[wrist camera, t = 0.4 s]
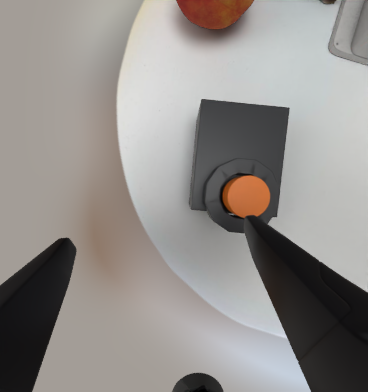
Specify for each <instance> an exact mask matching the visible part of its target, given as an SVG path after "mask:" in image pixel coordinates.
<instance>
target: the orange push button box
mask: <svg viewBox="0 0 368 392" xmlns="http://www.w3.org/2000/svg"><path fill="white" fill-rule="evenodd" d="M288 116H289V108H286V107H276V106H266V105H256V104H246V103H236V102H226V101H216V100H206V99H202V100H201V104H200V108H199V113H198V117H197V123H196V134H195V145H194V156H193V166H192V177H191V188H190V198H189V205H190V207H191V209H192V210H201V211H207V212H208V215H209V217H210V218H211V219H212V220H213V221H214V222H216V223H217V224H218V225H220V226H221V227H223V228H224V229H225V230H227V231H229V232H236V233H244V221H245V218H242V217H240V216H237V215H229V214H228V213H232V212H230V211H229V210H228V209H227V208H226V207H225V205H224V202H223V197H222V195H223V190H224V188H225V186H226V184H227V183H228V182H229V181H230V180H232V179H234V178H237V177H241V176H248V175H250V176H256V177H258V178H260V179H262V180H263V181H264V182H265V183H266V185H267V186H268V188H269V192H270V202H269V205H268V207H267V208H266V210H265V211H264V212H263V213H262V214H261V215H259V216H257V217H258V218H259V219H261V220H262V221H263V222H265V223H266V224H267V223H268V222H269V221H270V219H271V218H272V217H277V211H278V204H279V195H280V185H281V176H282V168H283V159H284V150H285V142H286V133H287V125H288Z"/></svg>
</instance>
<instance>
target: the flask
mask: <svg viewBox="0 0 368 392" xmlns="http://www.w3.org/2000/svg"><path fill="white" fill-rule="evenodd" d="M322 1H323V3H325V4H326V3H327V4H329V3H330V4H331V3H333V4H334V2H335V0H322Z"/></svg>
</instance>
